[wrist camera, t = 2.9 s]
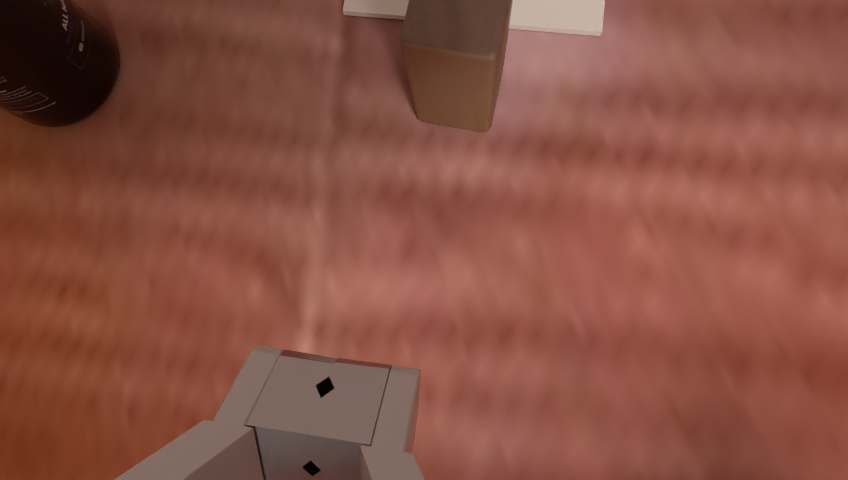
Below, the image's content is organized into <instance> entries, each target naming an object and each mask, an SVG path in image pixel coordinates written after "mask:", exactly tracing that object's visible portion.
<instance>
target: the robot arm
mask: <svg viewBox="0 0 848 480" xmlns="http://www.w3.org/2000/svg"><path fill="white" fill-rule="evenodd" d="M420 378H421V370H419V369H412V368H405V367H398V366H392V365H388V364H380V363H373V362H365V361H358V360H350V359H343V358H338V359H336V358H330V357H325V356H319V355H313V354H308V353H302V352H296V351H290V350H283V349H277V348H271V347H265V346H259V345H257V346H256V347H255V348H254V349H253V350H252V351H251V352H250V354H249V355H248V357H247V359H246V361H245V363H244V365H243V366H242V368H241V370H240V372H239V374H238V375H237V377H236V379H235V381H234V383H233V384H232V386H231V388H230V390H229V392H228V393H227V395H226V397H225V399H224V401H223V403H222V404H221V406H220V408H219V410H218V412H217V413H216V415H215V417H214V419H213V421H211V420H203V421H201V422H200V423H198V424H197V425H195V426H194V427H192V428H191V429H189V430H188V431H186V432H185V433H183V434H182V435H180V436H179V437H177V438H176V439H174V440H173V441H171V442H170V443H168V444H167V445H165V446H164V447H162V448H161V449H159V450H158V451H156V452H155V453H153V454H152V455H150V456H149V457H147V458H146V459H144V460H143V461H141V462H140V463H138V464H137V465H135V466H134V467H132V468H131V469H130V470H128V471H127V472H125V473H124V474H122V475H121V476H119V477H118V478H116V479H115V480H425V479H424V477H423V474H422V472H421V470H420V467H419V465H418V463H417V461H416V458H415V456H414V454H413V453H412V450H413V445H414V439H415V430H416V422H417V414H418V403H419V390H420Z"/></svg>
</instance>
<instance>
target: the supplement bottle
mask: <svg viewBox="0 0 848 480" xmlns="http://www.w3.org/2000/svg"><path fill="white" fill-rule="evenodd" d="M118 69H119V59H118V53H117V49H116V46H115V44H114V42H113V40H112V38H111V37H110V35H109V34H108V32H107V31H106V30H105V29H104V28H103V27H102V26H101V25H100V24H99V23H98V22H96V21H95V20H94V19H93V18H92V17H91V16H90V15H89V14H87V13H86V12H85V11H84V10H83V9H82V8H80V7H79V6H78V5H77V4H76V3H75V2H73V1H72V0H0V108H1V109H3V110H5V111H7V112H9V113H11V114H13V115H15V116H17V117H19V118H21V119H24V120H26V121H28V122H30V123H33V124H36V125H40V126H47V127H59V126H66V125H70V124H73V123H76V122H79V121H81V120H83V119H85V118H87V117H88V116H90V115H91V114H93V113H94V112H95V111H96V110H98V109H99V108H100V107H101V106H102V105H103V104H104V102H105V101H106V100H107V98H108V97H109V95H110V94H111V92H112V90H113V88H114V86H115V83H116V80H117V76H118Z"/></svg>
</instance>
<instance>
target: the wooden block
mask: <svg viewBox="0 0 848 480" xmlns="http://www.w3.org/2000/svg"><path fill="white" fill-rule="evenodd" d="M512 2H513V0H409V2H408V6H407V11H406V15H405V19H404V23H403V27H402V32H401V36H400V44H401V49H402V53H403V58H404V62H405V67H406V71H407V76H408V80H409V85H410V89H411V94H412V98H413V103H414V107H415V111H416V116H417V119H419V120H420V121H422V122H427V123H433V124H438V125H444V126H450V127H455V128H461V129H467V130H472V131H478V132H487V131H488V130H489V129H490V127H491V125H492V120H493V115H494V110H495V105H496V100H497V96H498V91H499V86H500V81H501V76H502V71H503V65H504V58H505V51H506V44H507V37H508V30H509V23H510V16H511V9H512Z"/></svg>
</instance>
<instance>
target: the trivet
mask: <svg viewBox="0 0 848 480" xmlns="http://www.w3.org/2000/svg"><path fill="white" fill-rule="evenodd" d="M408 2H409V0H344V5H343V13H344V15H350V16H363V17H375V18H387V19H399V20H404V19H405V15H406V11H407V6H408ZM604 4H605V0H513V2H512V9H511V16H510V23H509V29H520V30H532V31H544V32H556V33H568V34H580V35H592V36H600V35H601V33H602V26H603V15H604Z"/></svg>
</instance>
